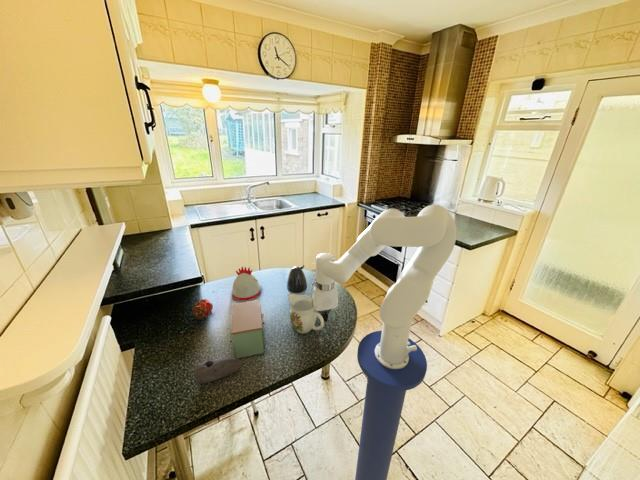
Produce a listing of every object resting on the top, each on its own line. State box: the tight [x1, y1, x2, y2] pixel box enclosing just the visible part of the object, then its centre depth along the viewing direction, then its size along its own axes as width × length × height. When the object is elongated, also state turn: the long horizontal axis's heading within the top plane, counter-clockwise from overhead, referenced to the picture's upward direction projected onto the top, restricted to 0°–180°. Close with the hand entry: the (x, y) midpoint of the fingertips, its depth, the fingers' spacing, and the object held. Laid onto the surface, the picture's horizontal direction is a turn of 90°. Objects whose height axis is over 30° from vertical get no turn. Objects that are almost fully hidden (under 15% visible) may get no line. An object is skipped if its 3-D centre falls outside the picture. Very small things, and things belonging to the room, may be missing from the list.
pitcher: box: [286, 293, 325, 334], centre depth 105 cm, size 11×18×14 cm, turn 56°
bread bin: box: [230, 299, 266, 359], centre depth 100 cm, size 12×17×13 cm
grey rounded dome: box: [231, 266, 262, 302], centre depth 128 cm, size 14×14×15 cm
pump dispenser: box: [286, 264, 308, 295], centre depth 128 cm, size 10×10×15 cm
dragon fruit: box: [191, 298, 214, 321], centre depth 114 cm, size 8×8×12 cm
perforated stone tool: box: [192, 357, 243, 385], centre depth 86 cm, size 15×5×7 cm, turn 110°
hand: (324, 319), depth 109 cm, fingers closed
